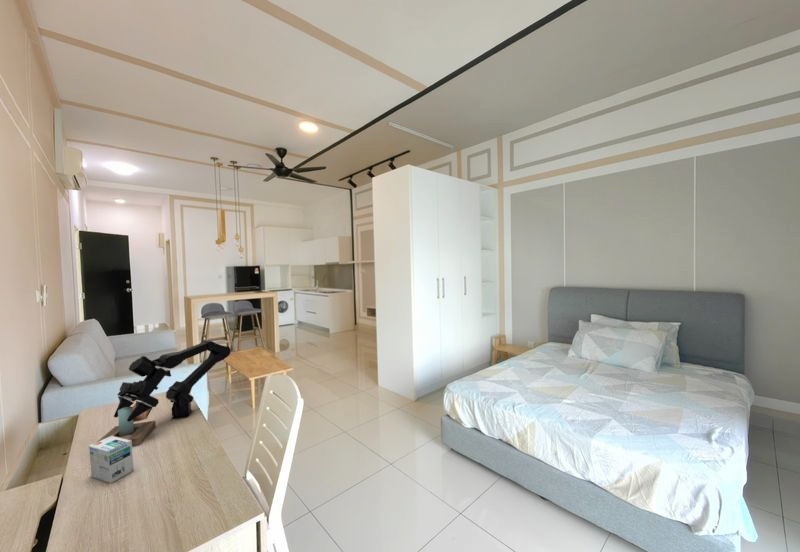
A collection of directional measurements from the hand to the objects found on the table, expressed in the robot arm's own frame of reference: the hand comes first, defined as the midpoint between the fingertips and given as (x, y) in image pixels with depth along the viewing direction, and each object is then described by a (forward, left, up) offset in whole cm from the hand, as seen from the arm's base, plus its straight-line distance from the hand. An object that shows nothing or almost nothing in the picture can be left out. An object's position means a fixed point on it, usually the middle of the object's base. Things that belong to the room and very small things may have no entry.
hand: (121, 419), depth 122 cm
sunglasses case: (+5, -26, -10) cm, 28 cm away
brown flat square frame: (-1, -1, -9) cm, 9 cm away
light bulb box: (-8, +23, -9) cm, 26 cm away
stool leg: (-1, -1, -9) cm, 9 cm away
